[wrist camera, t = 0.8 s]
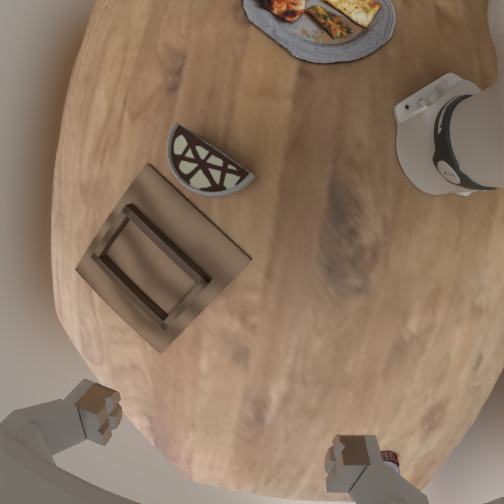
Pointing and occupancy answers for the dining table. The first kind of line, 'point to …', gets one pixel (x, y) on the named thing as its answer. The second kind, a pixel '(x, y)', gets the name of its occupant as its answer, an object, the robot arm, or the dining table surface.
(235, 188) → the food container
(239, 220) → the dining table surface
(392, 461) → the canned food
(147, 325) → the caddy board
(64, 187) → the dining table surface
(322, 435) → the dining table surface
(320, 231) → the dining table surface
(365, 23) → the food plate
